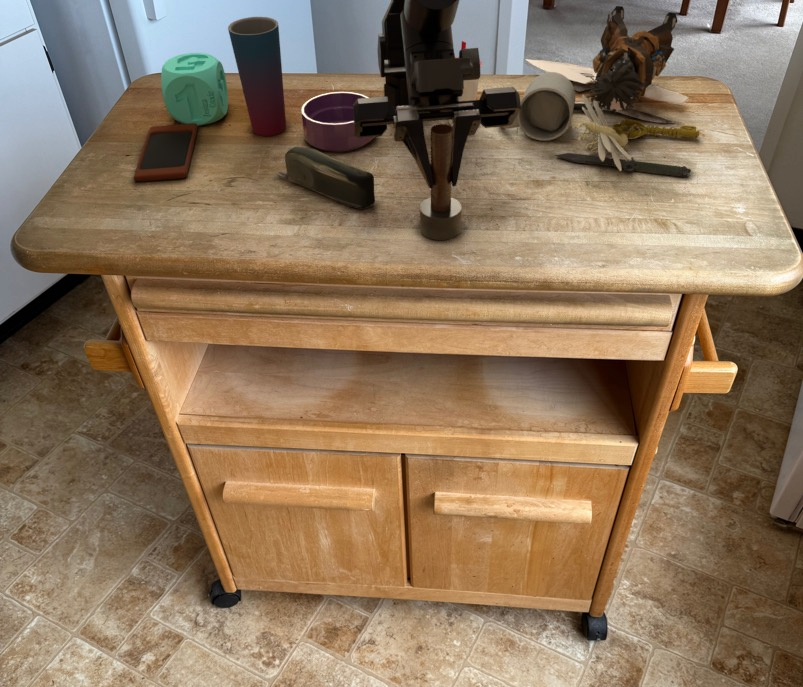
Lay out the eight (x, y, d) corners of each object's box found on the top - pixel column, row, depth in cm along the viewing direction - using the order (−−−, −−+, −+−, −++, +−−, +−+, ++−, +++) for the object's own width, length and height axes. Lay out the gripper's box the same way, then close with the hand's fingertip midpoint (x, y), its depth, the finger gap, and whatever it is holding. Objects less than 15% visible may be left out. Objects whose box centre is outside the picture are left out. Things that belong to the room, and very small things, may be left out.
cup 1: (284, 140, 110) (268, 35, 100) (239, 137, 111) (220, 33, 101) (298, 119, 115) (284, 17, 104) (255, 116, 116) (238, 15, 106)
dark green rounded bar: (377, 169, 93) (285, 136, 100) (362, 180, 92) (269, 146, 98) (378, 204, 97) (289, 170, 103) (364, 215, 95) (274, 180, 101)
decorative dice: (170, 127, 113) (157, 75, 108) (179, 103, 119) (167, 53, 114) (223, 125, 114) (213, 72, 108) (230, 101, 119) (221, 51, 114)
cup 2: (465, 112, 115) (468, 31, 107) (485, 125, 111) (490, 43, 103) (435, 121, 113) (436, 39, 105) (455, 134, 109) (458, 51, 101)
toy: (551, 115, 108) (566, 84, 104) (605, 126, 110) (622, 96, 107) (580, 179, 98) (599, 147, 95) (639, 189, 101) (659, 159, 97)
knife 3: (692, 162, 100) (690, 176, 98) (690, 168, 100) (689, 181, 99) (556, 146, 104) (552, 159, 102) (555, 151, 105) (551, 164, 103)
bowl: (345, 114, 116) (343, 85, 112) (391, 136, 110) (389, 107, 107) (290, 137, 110) (286, 107, 107) (335, 162, 105) (332, 131, 102)
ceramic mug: (573, 117, 112) (579, 66, 107) (568, 143, 106) (574, 91, 101) (502, 113, 115) (505, 62, 109) (494, 138, 109) (496, 86, 104)
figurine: (686, -4, 115) (676, 60, 93) (664, 81, 124) (650, 158, 102) (612, -12, 118) (585, 47, 96) (596, 72, 126) (568, 144, 104)
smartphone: (151, 131, 113) (134, 183, 102) (149, 125, 112) (132, 176, 101) (198, 128, 113) (187, 179, 102) (197, 122, 113) (185, 172, 102)
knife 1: (676, 110, 111) (677, 105, 110) (515, 67, 125) (515, 62, 124) (693, 96, 114) (694, 91, 114) (534, 55, 128) (534, 51, 127)
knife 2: (672, 136, 109) (676, 120, 112) (674, 127, 108) (678, 111, 111) (546, 114, 114) (553, 99, 117) (547, 105, 113) (554, 91, 116)
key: (700, 123, 107) (699, 139, 103) (698, 131, 108) (697, 148, 104) (614, 115, 110) (611, 131, 106) (613, 124, 110) (609, 139, 107)
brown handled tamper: (440, 212, 94) (441, 114, 85) (469, 228, 92) (473, 128, 83) (411, 228, 92) (409, 129, 83) (440, 245, 89) (441, 144, 80)
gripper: (347, 25, 78) (361, 174, 78) (524, 13, 79) (540, 159, 79) (348, 69, 89) (361, 199, 89) (503, 58, 90) (517, 186, 90)
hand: (442, 186), depth 86 cm, fingers closed on brown handled tamper, 2 cm apart
